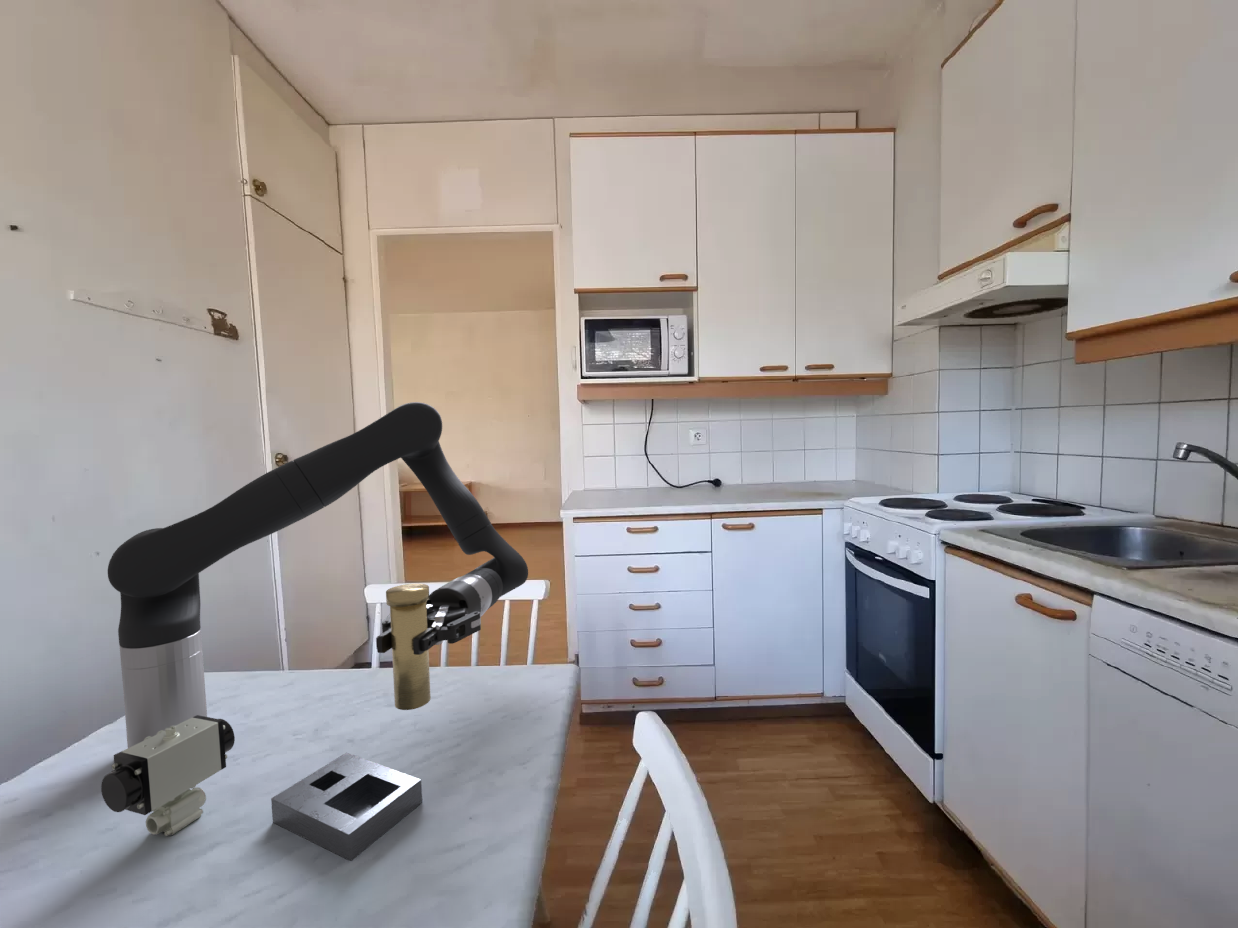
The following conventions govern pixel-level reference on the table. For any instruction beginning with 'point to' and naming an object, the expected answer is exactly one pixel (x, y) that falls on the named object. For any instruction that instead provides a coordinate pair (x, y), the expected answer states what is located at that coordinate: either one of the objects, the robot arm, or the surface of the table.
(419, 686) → the brass headed pin
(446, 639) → the robot arm
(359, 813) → the plate
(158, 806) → the pneumatic valve
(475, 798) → the table surface
